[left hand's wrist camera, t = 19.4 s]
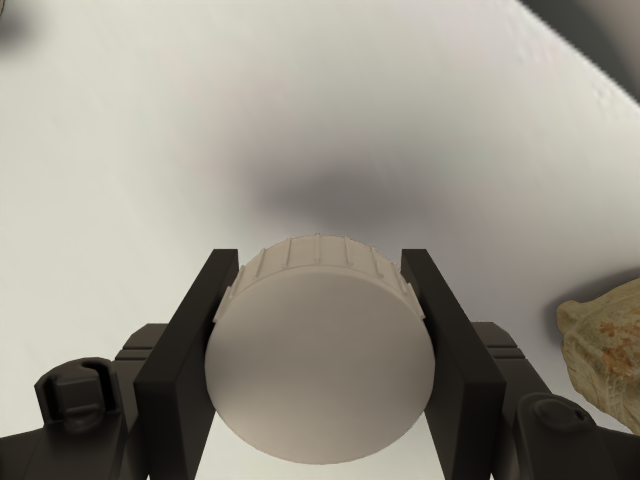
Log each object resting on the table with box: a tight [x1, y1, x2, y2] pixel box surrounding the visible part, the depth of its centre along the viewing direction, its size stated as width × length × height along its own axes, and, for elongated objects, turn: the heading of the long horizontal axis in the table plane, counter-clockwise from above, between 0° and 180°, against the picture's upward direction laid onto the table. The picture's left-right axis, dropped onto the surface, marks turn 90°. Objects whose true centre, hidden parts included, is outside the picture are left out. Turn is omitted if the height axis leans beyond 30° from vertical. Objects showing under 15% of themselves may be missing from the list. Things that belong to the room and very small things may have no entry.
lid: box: [205, 233, 435, 465], centre depth 11 cm, size 5×5×2 cm
